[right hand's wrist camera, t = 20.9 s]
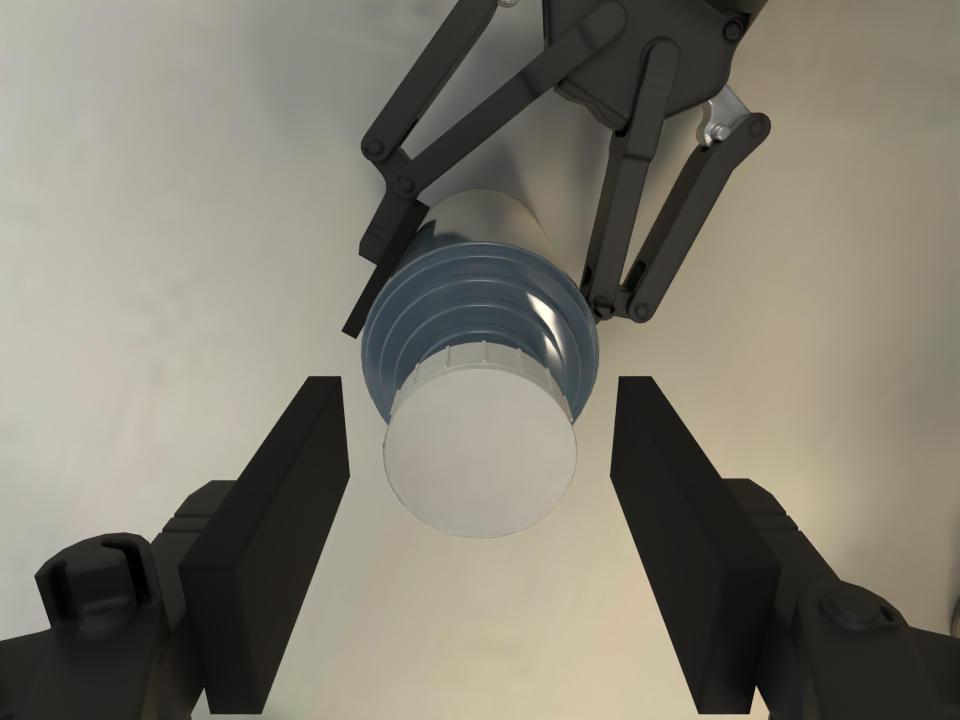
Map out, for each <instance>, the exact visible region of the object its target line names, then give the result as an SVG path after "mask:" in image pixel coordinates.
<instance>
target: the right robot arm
mask: <svg viewBox="0 0 960 720" xmlns="http://www.w3.org/2000/svg"><path fill="white" fill-rule="evenodd" d="M349 478H350V471H349V460H348V449H347V437H346V426H345V415H344V404H343V393H342V382H341V376H309V377H308V378H307V379H306V381H305V382H304V384H303V385H302V387H301V388H300V390H299V391H298V393H297V394H296V395H295V397H294V398H293V400H292V401H291V403H290V404H289V406H288V407H287V408H286V410H285V411H284V413H283V414H282V416H281V417H280V419H279V420H278V421H277V423H276V424H275V426H274V427H273V429H272V430H271V432H270V433H269V435H268V436H267V437H266V439H265V440H264V442H263V443H262V445H261V446H260V448H259V449H258V450H257V452H256V453H255V455H254V456H253V458H252V459H251V461H250V462H249V463H248V465H247V466H246V468H245V469H244V471H243V472H242V474H241V475H240V476H239V478H238V479H237V480H212V481H210V482H209V483H207V484H206V485H204V486H203V487H201V488H200V489H198V490H197V491H195V492H194V493H192V494H191V495H189V496H188V497H187V499H186V500H185V501H184V502H183V504H182V505H181V506H180V507H179V509H178V510H177V511H176V512H175V514H174V518H171V519H170V520H169V521H168V523H167V524H166V525H165V526H164V528H163V529H162V530H163V531H162V533H159V534H158V535H157V536H156V538H155V539H154V540H153V541H152V543H151V544H150V543H149V542H148V541H147V540H146V539H144V538H143V537H142V536H141V535H136V534H131V533H126V532H124V533H111V534H103V535H100V536H96V537H93V538H89V539H85V540H82V541H80V542H78V543H76V544H74V545H72V546H70V547H67V548H65V549H63V550H62V551H60V552H59V553H57V554H56V555H55V556H53V557H52V558H50V559H49V560H48V561H46V562H45V563H44V564H43V566H42V567H41V568H40V569H39V571H38V572H37V573H36V574H35V576H34V577H35V580H36V583H37V586H38V589H39V592H40V595H41V598H42V601H43V604H44V607H45V610H46V613H47V616H48V619H49V622H50V625H51V628H50V629H48V630H45V631H42V632H38V633H33V634H29V635H25V636H20V637H16V638H11V639H7V640H3V641H0V720H192V717H191V713H192V711H193V709H194V707H195V705H196V703H197V701H198V699H199V697H200V695H201V693H202V691H203V689H204V687H205V692H206V696H207V701H208V705H209V710H210V714H262V711H263V708H264V706H265V703H266V700H267V698H268V695H269V692H270V690H271V687H272V684H273V682H274V679H275V676H276V673H277V671H278V668H279V665H280V663H281V660H282V657H283V655H284V652H285V649H286V647H287V644H288V641H289V639H290V636H291V633H292V631H293V628H294V625H295V623H296V620H297V617H298V615H299V612H300V609H301V607H302V604H303V601H304V598H305V596H306V593H307V590H308V588H309V585H310V582H311V580H312V577H313V574H314V572H315V569H316V566H317V564H318V561H319V558H320V556H321V553H322V550H323V548H324V545H325V542H326V540H327V537H328V534H329V531H330V529H331V526H332V523H333V521H334V518H335V515H336V513H337V510H338V507H339V505H340V502H341V499H342V497H343V494H344V491H345V489H346V486H347V483H348V481H349ZM610 478H611V481H612V483H613V486H614V489H615V491H616V494H617V497H618V499H619V502H620V505H621V507H622V510H623V513H624V515H625V518H626V521H627V523H628V526H629V529H630V531H631V534H632V537H633V540H634V542H635V545H636V548H637V550H638V553H639V556H640V558H641V561H642V564H643V566H644V569H645V572H646V574H647V577H648V580H649V582H650V585H651V588H652V590H653V593H654V596H655V598H656V601H657V604H658V607H659V609H660V612H661V615H662V617H663V620H664V623H665V625H666V628H667V631H668V633H669V636H670V639H671V641H672V644H673V647H674V649H675V652H676V655H677V657H678V660H679V663H680V665H681V668H682V671H683V673H684V676H685V679H686V682H687V684H688V687H689V690H690V692H691V695H692V698H693V700H694V703H695V706H696V708H697V711H698V714H750V710H751V705H752V701H753V696H754V692H755V687H756V686H757V688H758V690H759V692H760V694H761V696H762V698H763V700H764V702H765V704H766V706H767V708H768V710H769V712H770V713H769V717H768V720H960V638H956V637H951V636H947V635H943V634H938V633H934V632H929V631H925V630H921V629H917V628H914V627H910V626H909V625H908V624H907V622H906V621H905V619H904V618H903V616H902V615H901V613H900V612H899V611H898V610H897V609H896V608H895V607H893V606H892V605H891V604H890V603H888V602H887V601H886V600H885V599H884V598H882V597H880V596H878V595H876V594H875V593H873V592H871V591H869V590H867V589H865V588H863V587H860V586H857V585H854V584H850V583H847V582H844V581H841V580H840V579H839V578H838V576H837V575H836V574H835V573H834V571H833V570H832V569H831V568H830V566H829V565H828V564H827V563H826V561H825V560H824V559H823V558H822V556H821V555H820V554H819V553H818V551H817V550H816V549H815V548H814V546H813V545H812V544H811V543H810V541H809V540H808V539H807V537H806V536H805V535H804V534H803V532H802V531H799V530H798V526H797V525H796V524H795V522H794V521H793V520H792V519H791V517H790V516H787V515H786V511H785V510H784V509H783V507H782V506H781V505H780V504H779V502H778V501H777V500H776V499H775V497H774V496H773V495H772V494H771V493H770V492H768V491H767V490H765V489H764V488H762V487H761V486H759V485H758V484H756V483H755V482H753V481H752V480H750V479H722V478H721V476H720V475H719V474H718V472H717V471H716V469H715V468H714V466H713V465H712V463H711V462H710V461H709V459H708V458H707V456H706V455H705V453H704V452H703V450H702V449H701V448H700V446H699V445H698V443H697V442H696V440H695V439H694V437H693V436H692V435H691V433H690V432H689V430H688V429H687V427H686V426H685V424H684V423H683V421H682V420H681V419H680V417H679V416H678V414H677V413H676V411H675V410H674V408H673V407H672V406H671V404H670V403H669V401H668V400H667V398H666V397H665V395H664V394H663V393H662V391H661V390H660V388H659V387H658V385H657V384H656V382H655V381H654V379H653V378H652V377H651V376H619V382H618V393H617V404H616V415H615V426H614V437H613V449H612V460H611V471H610Z"/></svg>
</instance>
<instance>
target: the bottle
mask: <svg viewBox="0 0 960 720" xmlns="http://www.w3.org/2000/svg"><path fill="white" fill-rule="evenodd" d="M482 341H486V343H495V344H501V345H505V346H508V347H512V348H514V349H518V348H519V349H521V351H522V352H523V353H525V354H527V355H529V356H530V357H532V358H534V359H535V360H536V361H537V362H539V363H540V364H541V365H542V366H543V367H544V368H545V369H546V368H548V369H549V370H550V373H551V376H552V377H553V378H554V380H555V381H556V383H557V385H558V386H559V388H560V390H561V392H562V395H563V396H566V399H567V402H568V405H569V408H570V411H571V414H572V417H573V420H574V421H572V422H571V423H572V425H573V424H574V422H575V421H576V419H577V418H578V417H579V415H580V414H581V412H582V410H583V408H584V406H585V404H586V402H587V400H588V399H589V397H590V395H591V392H592V389H593V386H594V384H595V381H596V376H597V371H598V366H599V340H598V333H597V329H596V324H595V321H594V318H593V316H592V313H591V310H590V308H589V306H588V304H587V302H586V301H585V299H584V297H583V295H582V293H581V292H580V290H579V289H578V287H577V285H576V284H575V282H574V280H573V279H572V277H571V276H570V274H569V272H568V271H567V269H566V267H565V266H564V264H563V262H562V261H561V259H560V258H559V256H558V254H557V253H556V251H555V249H554V248H553V246H552V245H551V243H550V241H549V240H548V238H547V236H546V235H545V233H544V232H543V230H542V228H541V227H540V225H539V223H538V222H537V220H536V219H535V217H534V216H533V215H532V213H531V212H530V211H529V210H528V209H527V208H526V207H525V206H524V205H523V204H522V203H520V202H519V201H518V200H516V199H514V198H513V197H511V196H509V195H507V194H504V193H502V192H498V191H494V190H488V189H472V190H465V191H462V192H459V193H456V194H454V195H451V196H449V197H448V198H446V199H444V200H443V201H441V202H440V203H439V204H438V205H436V206H435V207H434V208H433V209H432V210H431V211H430V212H429V213H428V215H427V216H426V218H425V219H424V221H423V222H422V224H421V225H420V227H419V229H418V230H417V232H416V234H415V235H414V237H413V239H412V240H411V242H410V244H409V245H408V247H407V248H406V250H405V252H404V253H403V255H402V256H401V258H400V260H399V261H398V263H397V265H396V266H395V268H394V270H393V271H392V273H391V274H390V276H389V278H388V279H387V281H386V283H385V284H384V286H383V288H382V289H381V291H380V292H379V294H378V296H377V297H376V299H375V301H374V303H373V305H372V307H371V309H370V311H369V314H368V317H367V320H366V322H365V325H364V331H363V336H362V344H361V360H362V370H363V374H364V378H365V383H366V386H367V388H368V391H369V393H370V396H371V398H372V400H373V402H374V404H375V405H376V407H377V409H378V411H379V413H380V415H381V416H382V418H383V419H384V420H385V422H386V423H387V424H388V425H389V422H390V419H391V416H392V415H390V411H391V408H392V405H393V401H394V398H395V395H396V392H397V390H400V389H401V387H402V385H403V384H404V382H405V381H406V379H407V377H408V376H409V375H410V374H411V373H412V372H413V370H414V369H415V366H416V364H417V363H419V364H421V363H422V362H423V361H424V360H426V359H427V358H429V357H430V356H432V355H433V354H435V353H437V352H439V351H441V350H444V349H446V346H450V347H452V346H455V345H460V344H465V343H474V342H482Z"/></svg>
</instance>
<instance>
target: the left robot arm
mask: <svg viewBox="0 0 960 720" xmlns="http://www.w3.org/2000/svg"><path fill="white" fill-rule="evenodd" d="M767 1H768V0H542V8H543V31H544V52H543V53H541V54H540V55H539V56H538V57H536V58H535V59H534V60H533V61H532V62H530V63H529V64H528V65H527V66H526V67H524V68H523V69H522V70H521V71H520V72H519V73H518V74H516V75H515V76H514V77H513V78H512V79H510V80H509V81H508V82H507V83H505V84H504V85H503V86H502V87H501V88H499V89H498V90H497V91H496V92H495V93H493V94H492V95H491V96H490V97H488V98H487V99H486V100H485V101H484V102H482V103H481V104H480V105H479V106H477V107H476V108H475V109H474V110H473V111H471V112H470V113H469V114H468V115H467V116H465V117H464V118H463V119H462V120H460V121H459V122H458V123H457V124H456V125H454V126H453V127H452V128H451V129H450V130H448V131H447V132H446V133H445V134H443V135H442V136H441V137H440V138H439V139H437V140H436V141H435V142H434V143H433V144H431V145H430V146H429V147H428V148H426V149H425V150H424V151H423V152H422V153H420V154H419V155H418V156H417V157H416V158H414V159H413V160H411V159H410V158H409V157H408V155H407V154H406V153H405V152H404V150H403V149H402V148H401V145H402V144H403V143H404V141H405V140H406V138H407V137H408V136H409V134H410V133H411V131H412V130H413V129H414V127H415V126H416V125H417V123H418V122H419V120H420V119H421V118H422V116H423V115H424V113H425V112H426V111H427V109H428V108H429V107H430V105H431V104H432V102H433V101H434V100H435V98H436V97H437V95H438V94H439V93H440V91H441V90H442V89H443V87H444V86H445V84H446V83H447V82H448V80H449V79H450V77H451V76H452V75H453V73H454V72H455V71H456V69H457V68H458V66H459V65H460V64H461V62H462V61H463V59H464V58H465V57H466V55H467V54H468V53H469V51H470V50H471V48H472V47H473V46H474V44H475V43H476V41H477V40H478V39H479V37H480V36H481V35H482V33H483V32H484V30H485V29H486V27H487V26H488V24H489V23H490V21H491V19H492V17H493V15H494V13H495V11H496V9H497V6H498V5H499V6H501V7H505V8H510V7H513V6H515V5H516V4H517V3H518V2H519V0H459V1H458V2H457V4H456V5H455V7H454V8H453V10H452V11H451V12H450V14H449V15H448V17H447V18H446V20H445V21H444V22H443V24H442V25H441V27H440V28H439V30H438V31H437V32H436V34H435V35H434V37H433V38H432V40H431V41H430V43H429V44H428V45H427V47H426V48H425V50H424V51H423V53H422V54H421V55H420V57H419V58H418V60H417V61H416V63H415V64H414V65H413V67H412V68H411V70H410V71H409V73H408V74H407V75H406V77H405V78H404V80H403V81H402V83H401V84H400V86H399V87H398V88H397V90H396V91H395V93H394V94H393V96H392V97H391V98H390V100H389V101H388V103H387V104H386V106H385V107H384V108H383V110H382V111H381V113H380V114H379V116H378V117H377V118H376V120H375V121H374V123H373V124H372V126H371V127H370V129H369V130H368V131H367V133H366V134H365V136H364V137H363V139H362V142H361V150H362V153H363V155H364V156H365V157H366V159H368V160H370V161H371V162H372V163H373V164H374V166H375V167H376V168H377V169H378V170H379V172H380V173H381V174H382V176H383V177H384V179H385V182H386V193H385V196H384V198H383V200H382V202H381V203H380V205H379V207H378V209H377V211H376V213H375V215H374V217H373V219H372V220H371V223H370V224H369V226H368V228H367V230H366V232H365V234H364V236H363V238H362V239H361V241H360V246H359V255H360V256H362V257H364V258H366V259H367V260H369V261H371V262H373V263H374V264H376V265H377V267H376V269H375V270H374V272H373V274H372V276H371V278H370V280H369V281H368V283H367V285H366V287H365V289H364V291H363V292H362V294H361V296H360V298H359V300H358V302H357V303H356V305H355V307H354V309H353V311H352V313H351V314H350V316H349V318H348V320H347V322H346V323H345V325H344V327H343V329H342V332H344V333H346V334H347V335H349V336H351V337H353V338H355V339H356V338H357V337H358V335H359V333H360V332H361V330H362V328H363V326H364V325H365V322H366V320H367V317H368V314H369V311H370V309H371V307H372V305H373V303H374V301H375V299H376V297H377V296H378V294H379V292H380V291H381V289H382V288H383V286H384V284H385V283H386V281H387V279H388V278H389V276H390V274H391V273H392V271H393V270H394V268H395V266H396V265H397V263H398V261H399V260H400V258H401V256H402V255H403V253H404V252H405V250H406V248H407V247H408V245H409V244H410V242H411V240H412V239H413V237H414V235H415V234H416V232H417V230H418V228H419V227H420V225H421V223H422V221H423V219H424V218H425V216H426V214H427V212H428V210H429V209H430V207H428V206H427V205H425V204H423V203H422V202H420V201H418V200H417V197H418V196H419V194H420V192H421V191H423V190H424V189H425V188H426V187H428V186H429V185H430V184H431V183H433V182H434V181H435V180H436V179H437V178H439V177H440V176H441V175H442V174H444V173H445V172H446V171H447V170H449V169H450V168H451V167H452V166H454V165H455V164H456V163H457V162H459V161H460V160H461V159H462V158H464V157H465V156H466V155H467V154H469V153H470V152H471V151H472V150H474V149H475V148H476V147H477V146H478V145H480V144H481V143H482V142H483V141H485V140H486V139H487V138H488V137H490V136H491V135H492V134H493V133H495V132H496V131H497V130H498V129H500V128H501V127H502V126H503V125H505V124H506V123H507V122H508V121H510V120H511V119H512V118H513V117H515V116H516V115H517V114H518V113H519V112H521V111H522V110H523V109H524V108H526V107H527V106H528V105H529V104H531V103H532V102H533V101H534V100H536V99H537V98H538V97H540V96H541V95H542V94H543V93H545V92H546V91H547V90H548V89H550V88H551V87H552V86H553V87H554V90H553V91H555V92H556V93H558V94H559V95H561V96H562V97H564V98H565V99H567V100H569V101H572V102H575V103H578V104H581V105H584V106H586V107H587V108H588V109H589V111H590V112H591V113H592V114H593V115H594V117H595V118H596V119H597V120H598V121H599V122H601V123H602V124H604V125H605V126H607V127H608V128H610V129H611V130H613V133H612V137H611V142H610V147H609V161H608V165H607V169H606V174H605V178H604V183H603V187H602V191H601V196H600V200H599V205H598V209H597V213H596V218H595V222H594V227H593V231H592V235H591V240H590V244H589V249H588V253H587V258H586V262H585V266H584V271H583V275H582V280H581V284H580V292H581V293H582V295H583V297H584V299H585V301H586V302H587V304H588V306H589V308H590V310H591V313H592V316H593V318H594V321H595V324H596V325H597V324H598V322H599V321H600V320H608V319H611V318H612V317H613V316H618V317H623V318H628V319H631V320H633V321H634V322H636V323H645V322H647V321H648V320H650V319H651V318H652V316H653V315H654V313H655V311H656V309H657V308H658V306H659V304H660V302H661V300H662V299H663V297H664V295H665V293H666V291H667V289H668V288H669V286H670V284H671V282H672V280H673V279H674V277H675V275H676V273H677V271H678V269H679V268H680V266H681V264H682V262H683V260H684V259H685V257H686V255H687V253H688V251H689V249H690V248H691V246H692V244H693V242H694V240H695V238H696V237H697V235H698V233H699V231H700V229H701V228H702V226H703V224H704V222H705V220H706V218H707V217H708V215H709V213H710V211H711V209H712V208H713V206H714V204H715V202H716V200H717V198H718V197H719V195H720V193H721V191H722V189H723V188H724V186H725V184H726V182H727V180H728V178H729V177H730V175H731V173H732V171H733V170H734V169H735V168H736V167H737V166H738V165H739V164H740V163H741V162H742V161H743V160H744V159H745V158H746V157H747V156H748V155H749V154H750V153H751V152H752V151H753V150H754V149H756V148H757V147H758V146H759V145H760V144H761V143H762V142H763V141H764V140H765V139H766V137H767V136H768V135H769V133H770V129H771V122H770V120H769V118H768V116H766V115H765V114H764V113H751V112H750V111H749V110H748V109H747V107H746V106H745V105H744V104H743V103H742V101H741V100H740V99H739V98H738V97H737V96H736V94H735V93H734V92H733V91H732V90H731V88H730V87H729V86H728V85H727V84H726V83H727V81H728V78H729V75H730V68H731V62H732V58H733V55H734V52H735V50H736V48H737V46H738V44H739V42H740V41H741V39H742V38H743V36H744V35H745V33H746V32H747V31H748V29H749V28H750V26H751V25H752V23H753V22H754V20H755V19H756V17H757V16H758V14H759V13H760V11H761V10H762V8H763V7H764V5H765V4H766V2H767ZM700 104H701V105H702V107H703V111H704V116H703V119H702V121H701V123H700V125H699V126H698V128H697V131H696V138H697V141H698V143H699V145H698V146H697V147H696V148H695V150H694V151H693V153H692V154H691V155H690V157H689V158H688V160H687V162H686V163H685V165H684V167H683V169H682V171H681V173H680V175H679V177H678V178H677V180H676V182H675V184H674V186H673V188H672V190H671V192H670V194H669V196H668V198H667V200H666V202H665V203H664V205H663V207H662V209H661V211H660V213H659V215H658V217H657V219H656V221H655V223H654V225H653V227H652V228H651V230H650V232H649V234H648V236H647V238H646V240H645V242H644V244H643V246H642V248H641V250H640V252H639V253H638V255H637V257H636V259H635V261H634V263H633V265H632V267H631V269H630V271H629V273H628V275H627V277H626V278H625V280H624V282H623V284H622V285H619V282H620V278H621V275H622V271H623V267H624V263H625V259H626V255H627V251H628V247H629V243H630V239H631V235H632V231H633V227H634V223H635V219H636V215H637V211H638V207H639V203H640V199H641V195H642V191H643V187H644V183H645V179H646V175H647V171H648V167H649V164H650V162H651V161H652V159H653V157H654V155H655V152H656V149H657V145H658V141H659V137H660V133H661V129H662V125H663V121H664V120H665V119H668V118H670V117H672V116H675V115H677V114H679V113H681V112H684V111H686V110H688V109H691V108H693V107H695V106H697V105H700ZM952 636H953V637H956V638H960V601H959V603H958V606H957V609H956V611H955V615H954V619H953V627H952Z"/></svg>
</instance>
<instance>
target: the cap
mask: <svg viewBox="0 0 960 720" xmlns="http://www.w3.org/2000/svg"><path fill="white" fill-rule="evenodd" d="M390 415H392V416H391V419H390V422H389V425H388V429H387V432H386V436H385V440H384V444H383V448H384V449H383V451H384V465H385V471H386V474H387V477H388V480H389V483H390V485H391V487H392V489H393V491H394V493H395V494H396V495H397V497H398V498H399V500H400V501H401V503H402V504H403V505H404V506H405V507H406V508H407V509H408V510H409V511H410V512H411V513H412V514H413V515H415V516H416V517H417V518H418V519H420V520H421V521H423V522H424V523H426V524H428V525H430V526H431V527H433V528H435V529H438V530H440V531H443V532H446V533H448V534H452V535H456V536H461V537H468V538H492V537H499V536H504V535H508V534H512V533H515V532H518V531H520V530H523V529H525V528H527V527H529V526H531V525H533V524H534V523H536V522H538V521H539V520H541V519H542V518H543V517H545V516H546V515H547V514H548V513H549V512H551V511H552V510H553V509H554V508H555V507H556V506H557V504H558V503H559V502H560V501H561V499H562V498H563V496H564V495H565V493H566V491H567V490H568V488H569V486H570V484H571V481H572V479H573V476H574V472H575V468H576V462H577V443H576V438H575V433H574V430H573V427H572V423H571V422H572V421H574V420H573V417H572V414H571V411H570V408H569V405H568V402H567V399H566V396H563V395H562V392H561V390H560V388H559V386H558V385H557V383H556V381H555V380H554V378H553V377H552V376H551V373H550V370H549V369H548V368H546V369H545V368H544V367H543V366H542V365H541V364H540V363H539V362H537V361H536V360H535V359H534V358H532V357H530V356H529V355H527V354H525V353H523V352H522V351H521V349H519V348H518V349H514V348H512V347H508V346H505V345H501V344H495V343H486V341H482V342H474V343H465V344H460V345H455V346H452V347H450V346H446V349H444V350H441V351H439V352H437V353H435V354H433V355H432V356H430V357H429V358H427V359H426V360H424V361H423V362H422V363H421V364H419V363H417V364H416V366H415V369H414V370H413V372H412V373H411V374H410V375H409V376H408V377H407V379H406V381H405V382H404V384H403V385H402V387H401V389H400V390H397V392H396V395H395V398H394V401H393V405H392V408H391V411H390Z"/></svg>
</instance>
